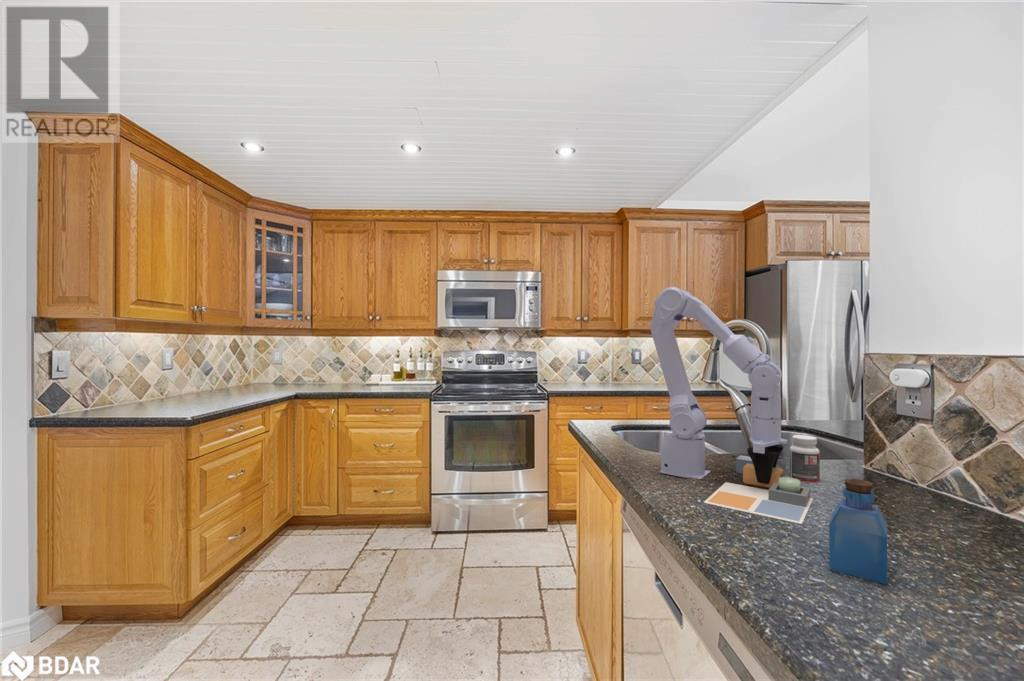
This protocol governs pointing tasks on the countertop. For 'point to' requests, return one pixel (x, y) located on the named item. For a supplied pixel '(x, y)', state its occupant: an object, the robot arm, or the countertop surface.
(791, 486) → the button
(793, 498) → the button housing
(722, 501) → the sheet
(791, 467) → the pill bottle
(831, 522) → the perfume bottle
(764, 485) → the orange marker
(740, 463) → the grey-capped blue block
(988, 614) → the countertop surface
